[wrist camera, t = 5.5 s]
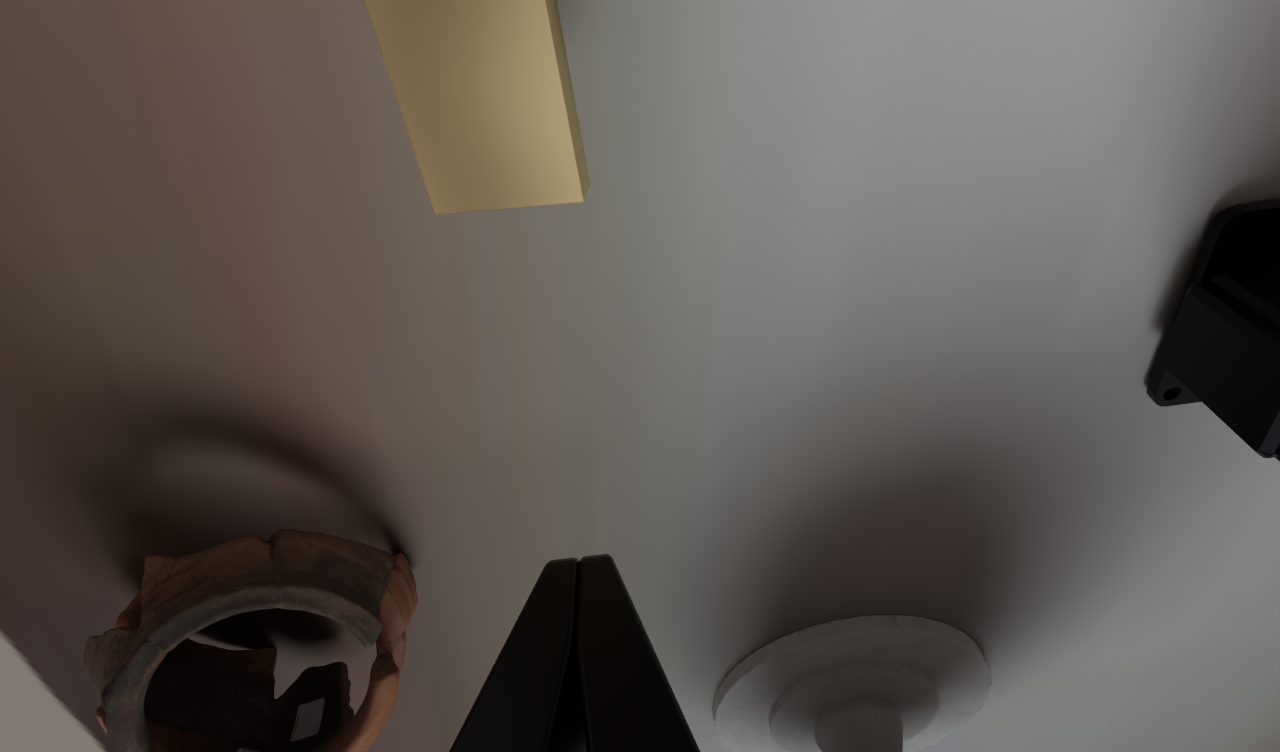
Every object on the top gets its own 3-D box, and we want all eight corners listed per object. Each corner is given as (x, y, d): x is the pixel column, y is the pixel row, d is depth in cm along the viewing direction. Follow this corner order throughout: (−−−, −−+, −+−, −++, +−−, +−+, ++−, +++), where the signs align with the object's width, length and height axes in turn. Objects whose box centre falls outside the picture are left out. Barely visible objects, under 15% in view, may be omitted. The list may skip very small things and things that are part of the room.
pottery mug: (60, 533, 24) (-32, 682, 17) (340, 412, 27) (362, 495, 20) (238, 777, 29) (224, 975, 22) (461, 650, 32) (515, 788, 25)
